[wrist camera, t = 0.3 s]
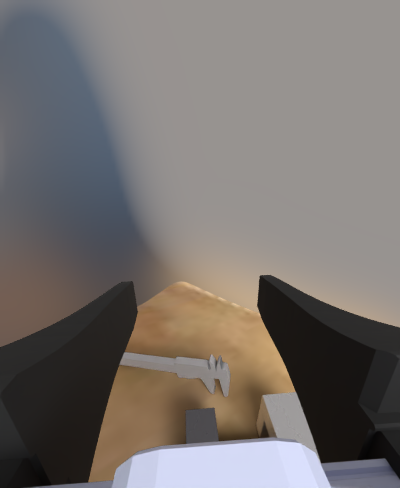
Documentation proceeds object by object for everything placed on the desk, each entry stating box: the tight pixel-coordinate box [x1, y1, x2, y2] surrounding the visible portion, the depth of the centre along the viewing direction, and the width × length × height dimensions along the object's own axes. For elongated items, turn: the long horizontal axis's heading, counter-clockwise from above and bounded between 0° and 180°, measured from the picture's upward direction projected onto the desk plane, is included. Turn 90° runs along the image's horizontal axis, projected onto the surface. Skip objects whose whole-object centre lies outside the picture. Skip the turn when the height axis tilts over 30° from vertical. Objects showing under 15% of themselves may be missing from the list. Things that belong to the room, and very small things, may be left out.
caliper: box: [119, 352, 231, 397], centre depth 27 cm, size 20×1×6 cm, turn 75°
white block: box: [256, 392, 321, 464], centre depth 19 cm, size 6×4×6 cm, turn 5°
